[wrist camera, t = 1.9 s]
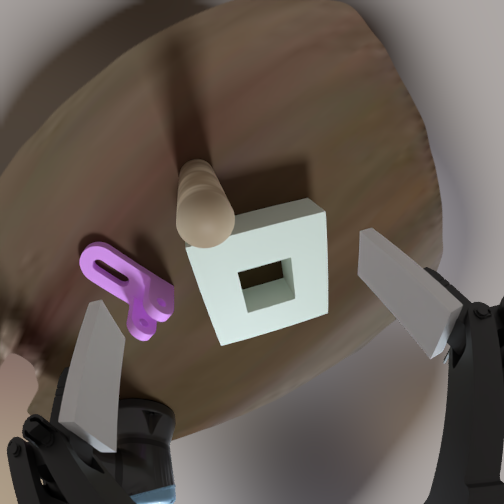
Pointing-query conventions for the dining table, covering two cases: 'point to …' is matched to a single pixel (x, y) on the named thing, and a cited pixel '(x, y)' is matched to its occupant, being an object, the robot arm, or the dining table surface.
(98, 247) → the bracket
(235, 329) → the socket block
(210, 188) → the peg
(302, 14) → the dining table surface
